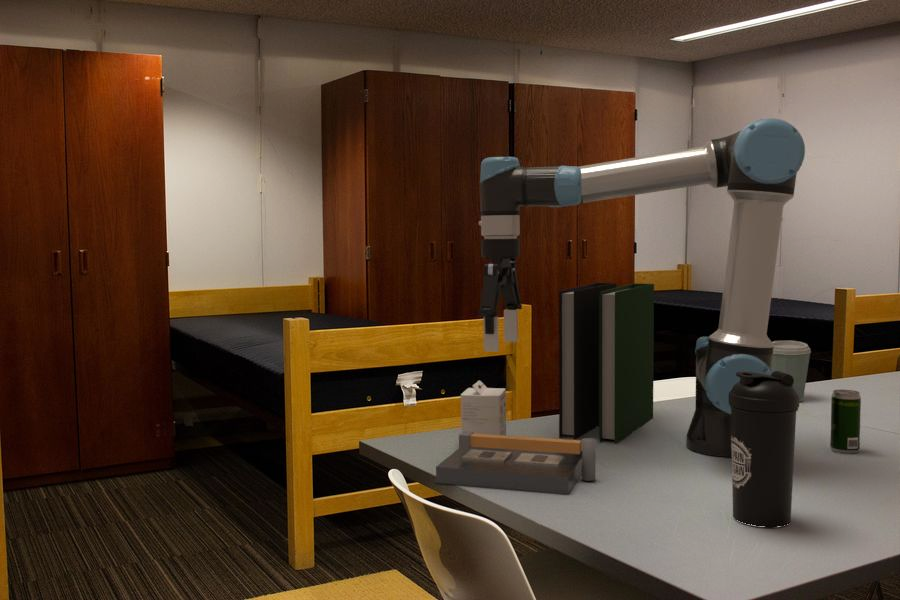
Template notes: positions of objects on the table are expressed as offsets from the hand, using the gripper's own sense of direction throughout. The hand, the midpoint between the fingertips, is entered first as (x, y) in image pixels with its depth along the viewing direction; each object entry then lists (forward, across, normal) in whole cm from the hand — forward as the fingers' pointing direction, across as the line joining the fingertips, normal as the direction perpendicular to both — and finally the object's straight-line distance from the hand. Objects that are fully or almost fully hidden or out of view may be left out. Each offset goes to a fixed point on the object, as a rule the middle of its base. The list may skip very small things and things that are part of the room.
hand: (501, 346), depth 170 cm
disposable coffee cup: (+23, -75, +55) cm, 96 cm away
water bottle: (+23, +22, +48) cm, 58 cm away
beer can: (+23, -26, +64) cm, 73 cm away
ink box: (+23, -8, -6) cm, 25 cm away
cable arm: (+22, +10, +8) cm, 26 cm away
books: (+23, -32, +15) cm, 42 cm away
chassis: (+22, +10, +5) cm, 25 cm away
